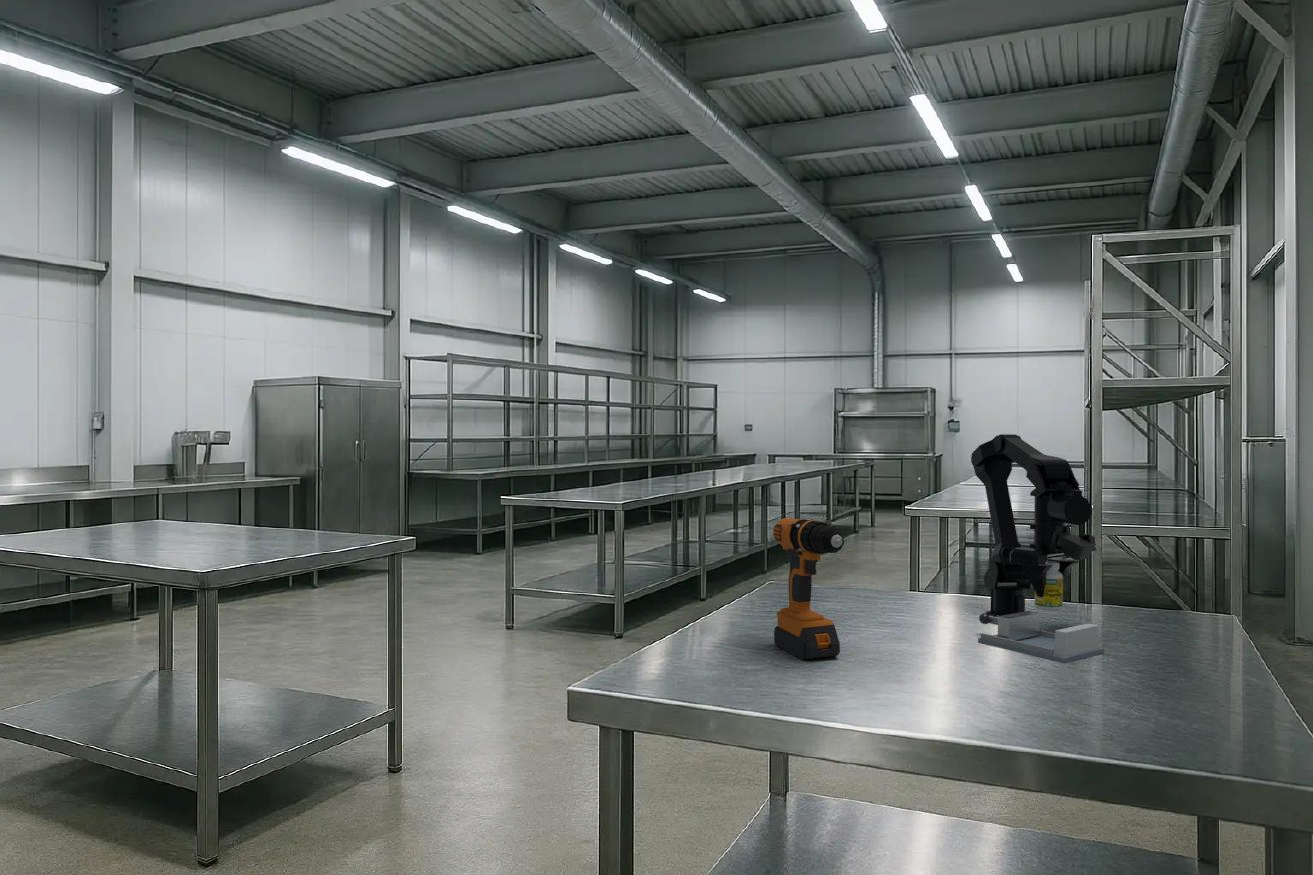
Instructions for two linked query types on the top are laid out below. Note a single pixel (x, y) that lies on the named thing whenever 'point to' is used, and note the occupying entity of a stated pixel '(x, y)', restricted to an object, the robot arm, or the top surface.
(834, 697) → the top surface
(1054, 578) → the supplement bottle
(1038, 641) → the vise base
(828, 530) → the power drill
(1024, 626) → the sliding jaw
